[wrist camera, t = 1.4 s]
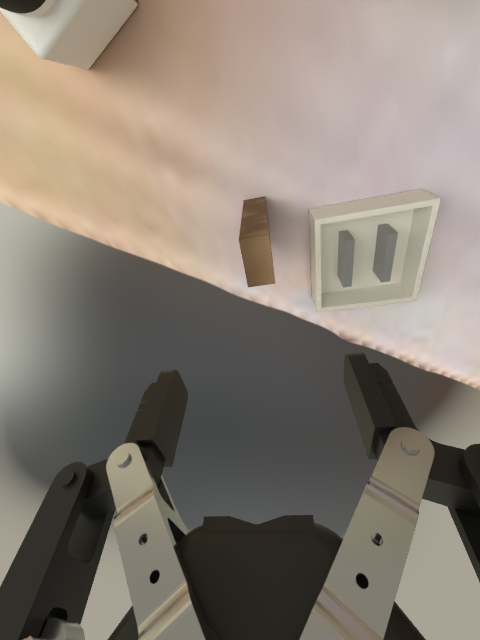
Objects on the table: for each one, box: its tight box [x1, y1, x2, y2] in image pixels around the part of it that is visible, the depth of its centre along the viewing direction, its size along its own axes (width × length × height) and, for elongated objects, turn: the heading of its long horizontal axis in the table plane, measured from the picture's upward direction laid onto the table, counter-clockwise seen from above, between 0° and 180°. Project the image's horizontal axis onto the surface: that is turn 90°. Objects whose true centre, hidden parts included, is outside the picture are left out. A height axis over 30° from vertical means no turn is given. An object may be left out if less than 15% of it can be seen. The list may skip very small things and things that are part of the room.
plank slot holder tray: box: [309, 189, 441, 312], centre depth 32 cm, size 12×12×4 cm
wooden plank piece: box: [239, 197, 275, 287], centre depth 27 cm, size 2×4×12 cm, turn 11°
